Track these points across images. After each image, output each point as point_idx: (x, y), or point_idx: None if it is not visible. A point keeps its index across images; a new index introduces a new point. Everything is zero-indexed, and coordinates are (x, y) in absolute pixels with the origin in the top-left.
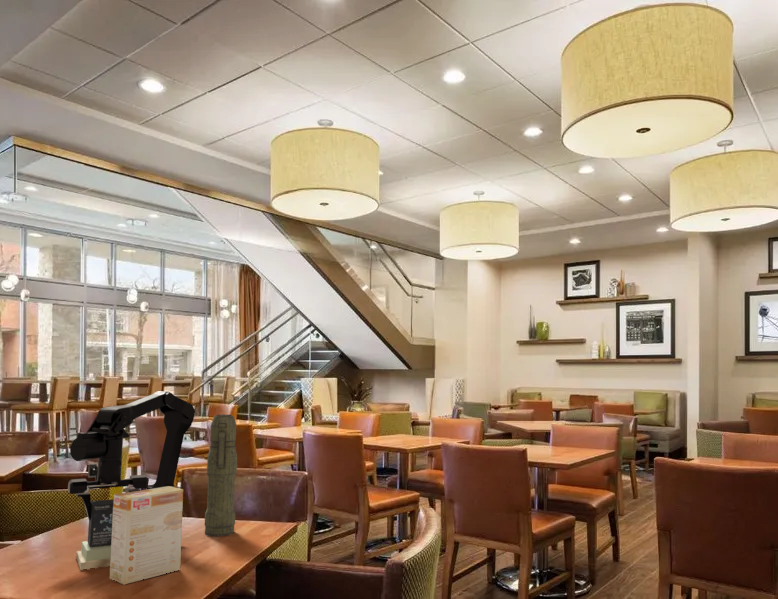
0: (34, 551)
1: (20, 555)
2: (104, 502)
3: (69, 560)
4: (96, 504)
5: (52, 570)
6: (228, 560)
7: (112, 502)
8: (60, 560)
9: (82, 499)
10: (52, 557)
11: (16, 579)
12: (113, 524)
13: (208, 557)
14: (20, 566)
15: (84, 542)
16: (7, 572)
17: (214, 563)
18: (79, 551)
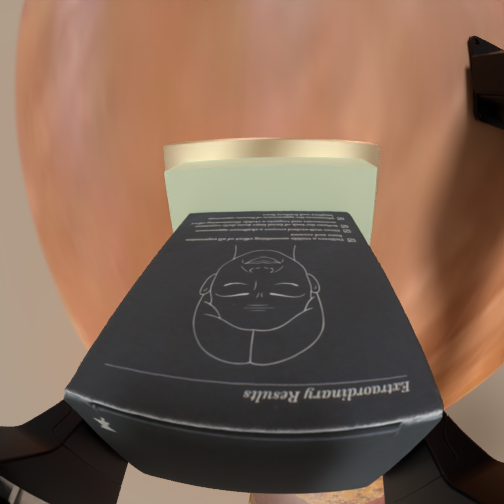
0: (63, 26)
1: (35, 68)
2: (216, 481)
3: (152, 171)
4: (163, 478)
5: (121, 267)
6: (498, 349)
7: (282, 490)
8: (125, 159)
9: (29, 425)
10: (100, 109)
11: (71, 296)
12: (251, 501)
13: (497, 320)
14: (45, 189)
15: (176, 194)
16: (38, 233)
17: (475, 360)
18: (174, 157)
